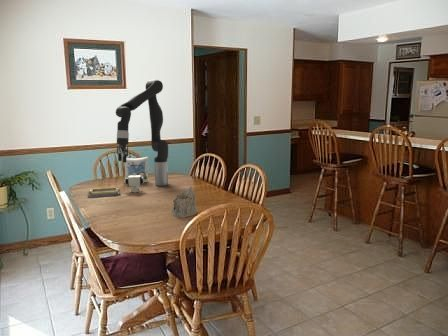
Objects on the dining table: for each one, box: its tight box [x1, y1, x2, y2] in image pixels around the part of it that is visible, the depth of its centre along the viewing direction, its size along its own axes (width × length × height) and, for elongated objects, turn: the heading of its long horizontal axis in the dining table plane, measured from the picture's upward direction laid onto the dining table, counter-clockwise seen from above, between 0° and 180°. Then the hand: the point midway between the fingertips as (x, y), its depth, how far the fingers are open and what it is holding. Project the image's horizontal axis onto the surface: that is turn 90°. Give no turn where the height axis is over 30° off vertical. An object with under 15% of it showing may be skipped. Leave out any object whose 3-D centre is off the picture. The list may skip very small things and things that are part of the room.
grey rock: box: [171, 186, 198, 219], centre depth 211 cm, size 16×16×15 cm
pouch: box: [122, 155, 150, 184], centre depth 286 cm, size 8×19×20 cm, turn 101°
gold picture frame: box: [87, 186, 122, 199], centre depth 253 cm, size 20×14×3 cm
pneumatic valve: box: [124, 175, 145, 193], centre depth 258 cm, size 6×12×12 cm, turn 94°
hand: (122, 161), depth 253 cm, fingers open, 8 cm apart
